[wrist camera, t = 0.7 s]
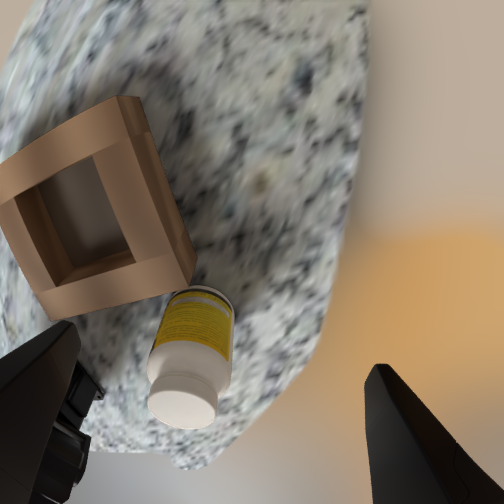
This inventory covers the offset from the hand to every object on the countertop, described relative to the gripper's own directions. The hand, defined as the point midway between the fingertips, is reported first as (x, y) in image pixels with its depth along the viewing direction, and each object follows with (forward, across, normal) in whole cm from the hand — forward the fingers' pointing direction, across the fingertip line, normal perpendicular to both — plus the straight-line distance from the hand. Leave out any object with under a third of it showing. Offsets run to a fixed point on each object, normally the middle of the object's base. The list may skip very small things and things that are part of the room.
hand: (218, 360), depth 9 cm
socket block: (+13, +11, +2) cm, 17 cm away
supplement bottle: (+13, +3, +10) cm, 17 cm away
